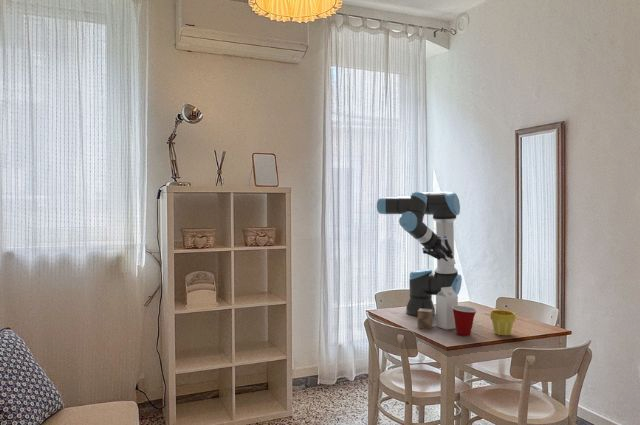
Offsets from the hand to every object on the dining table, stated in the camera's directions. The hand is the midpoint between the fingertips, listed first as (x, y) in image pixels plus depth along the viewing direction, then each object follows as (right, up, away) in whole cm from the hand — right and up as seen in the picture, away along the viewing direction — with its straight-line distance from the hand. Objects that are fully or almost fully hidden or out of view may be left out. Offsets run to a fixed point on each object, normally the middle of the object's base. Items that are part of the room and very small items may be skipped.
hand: (453, 262), depth 217 cm
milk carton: (-2, -31, +3) cm, 32 cm away
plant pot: (+20, -32, -8) cm, 38 cm away
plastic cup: (+2, -32, -9) cm, 33 cm away
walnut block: (-12, -31, +4) cm, 34 cm away
